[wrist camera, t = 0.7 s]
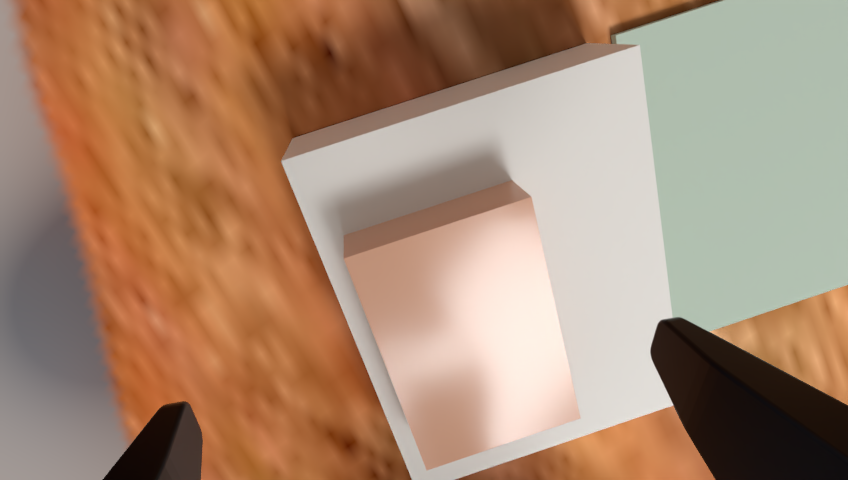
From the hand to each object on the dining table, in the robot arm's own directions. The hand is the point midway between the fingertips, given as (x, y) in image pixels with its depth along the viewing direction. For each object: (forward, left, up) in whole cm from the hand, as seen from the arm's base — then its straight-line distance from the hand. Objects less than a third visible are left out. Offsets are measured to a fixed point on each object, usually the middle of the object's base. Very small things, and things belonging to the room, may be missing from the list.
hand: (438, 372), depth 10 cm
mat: (-4, -17, -13) cm, 22 cm away
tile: (-4, -1, -9) cm, 10 cm away
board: (-4, -3, -13) cm, 14 cm away
